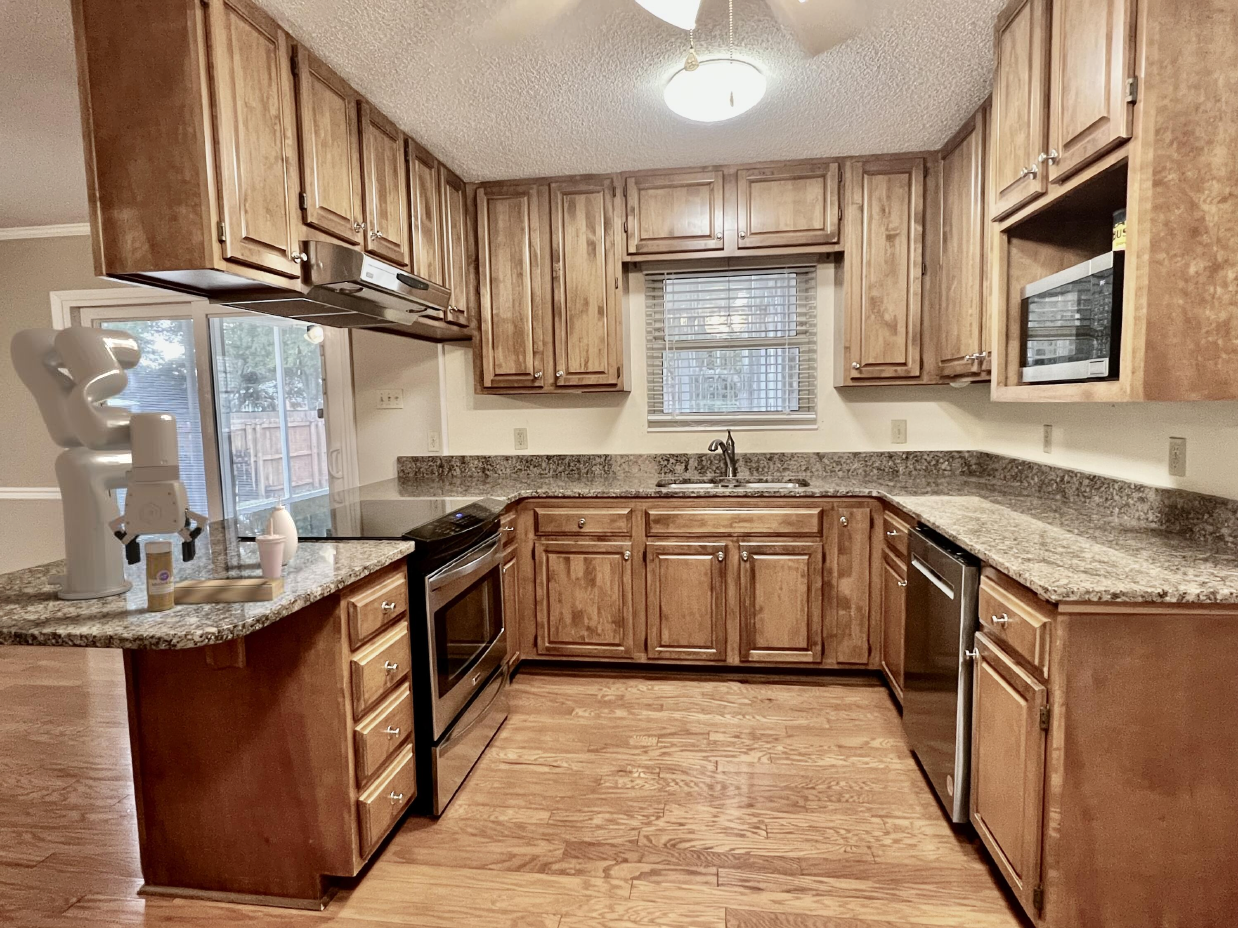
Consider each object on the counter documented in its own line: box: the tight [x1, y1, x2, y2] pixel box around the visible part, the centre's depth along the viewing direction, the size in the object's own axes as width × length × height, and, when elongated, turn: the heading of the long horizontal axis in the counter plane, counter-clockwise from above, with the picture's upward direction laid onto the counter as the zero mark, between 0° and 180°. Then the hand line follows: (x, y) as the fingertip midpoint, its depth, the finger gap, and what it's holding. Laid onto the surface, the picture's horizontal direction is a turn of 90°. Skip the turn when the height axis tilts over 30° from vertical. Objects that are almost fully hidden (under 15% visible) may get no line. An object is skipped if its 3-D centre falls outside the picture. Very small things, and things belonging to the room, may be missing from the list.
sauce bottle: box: [263, 496, 299, 566], centre depth 167 cm, size 8×8×18 cm
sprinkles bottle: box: [144, 540, 176, 612], centre depth 128 cm, size 5×5×13 cm
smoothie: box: [255, 518, 286, 579], centre depth 155 cm, size 6×6×14 cm
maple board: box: [173, 577, 285, 605], centre depth 137 cm, size 20×7×3 cm, turn 100°
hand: (161, 562), depth 128 cm, fingers open, 9 cm apart
